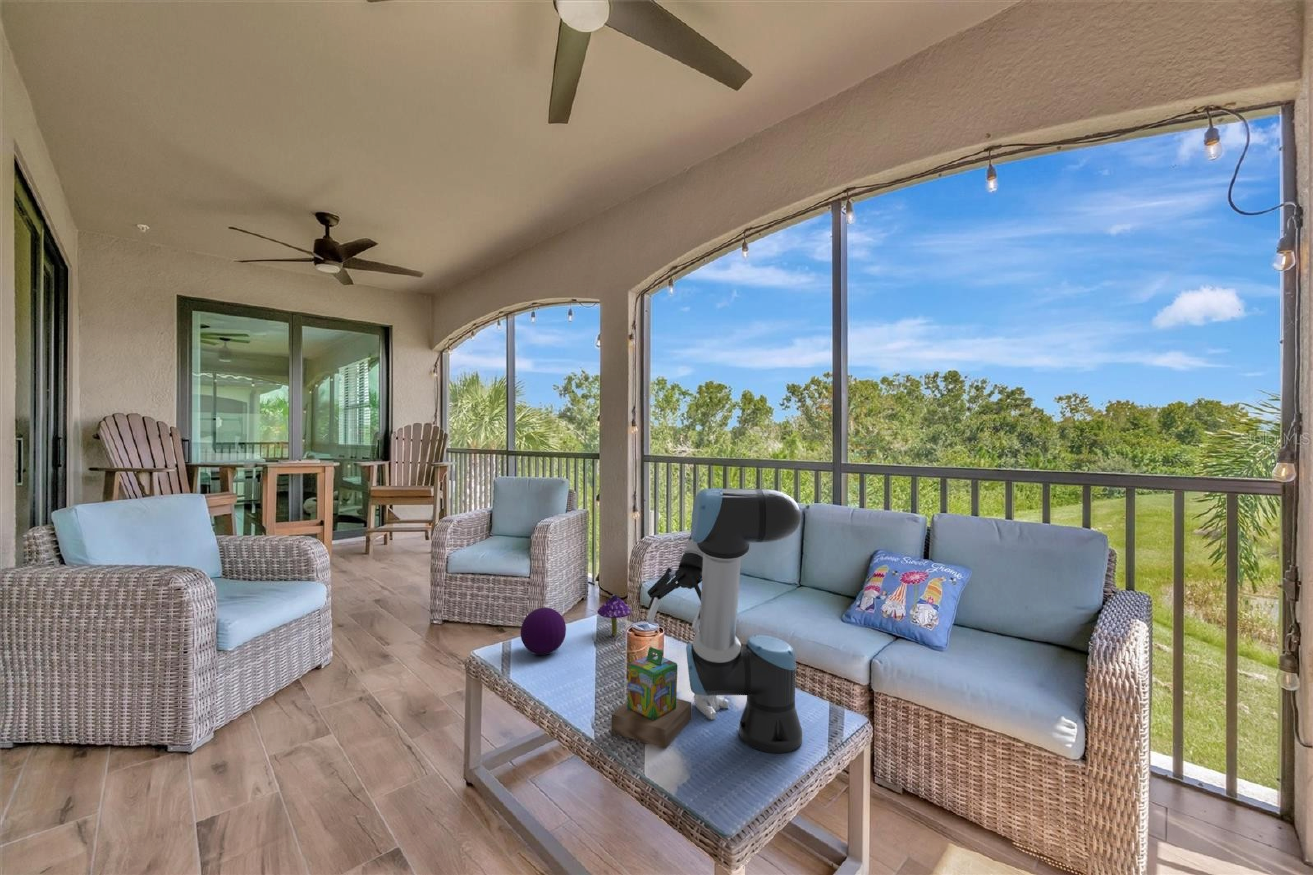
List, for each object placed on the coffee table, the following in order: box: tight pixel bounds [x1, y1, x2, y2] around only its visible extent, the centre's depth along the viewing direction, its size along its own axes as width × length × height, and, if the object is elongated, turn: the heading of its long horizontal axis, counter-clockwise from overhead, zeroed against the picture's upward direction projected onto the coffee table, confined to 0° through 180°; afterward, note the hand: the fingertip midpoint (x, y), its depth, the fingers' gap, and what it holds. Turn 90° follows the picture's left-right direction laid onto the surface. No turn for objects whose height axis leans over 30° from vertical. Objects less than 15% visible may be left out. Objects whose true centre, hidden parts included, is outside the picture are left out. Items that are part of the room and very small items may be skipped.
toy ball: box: [520, 607, 567, 656], centre depth 182 cm, size 15×15×15 cm
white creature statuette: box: [693, 693, 730, 720], centre depth 146 cm, size 10×9×12 cm
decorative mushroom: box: [597, 594, 632, 637], centre depth 199 cm, size 12×12×15 cm
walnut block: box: [610, 697, 692, 750], centre depth 138 cm, size 15×15×5 cm
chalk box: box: [627, 646, 679, 720], centre depth 138 cm, size 9×9×15 cm
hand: (671, 625), depth 146 cm, fingers open, 13 cm apart
